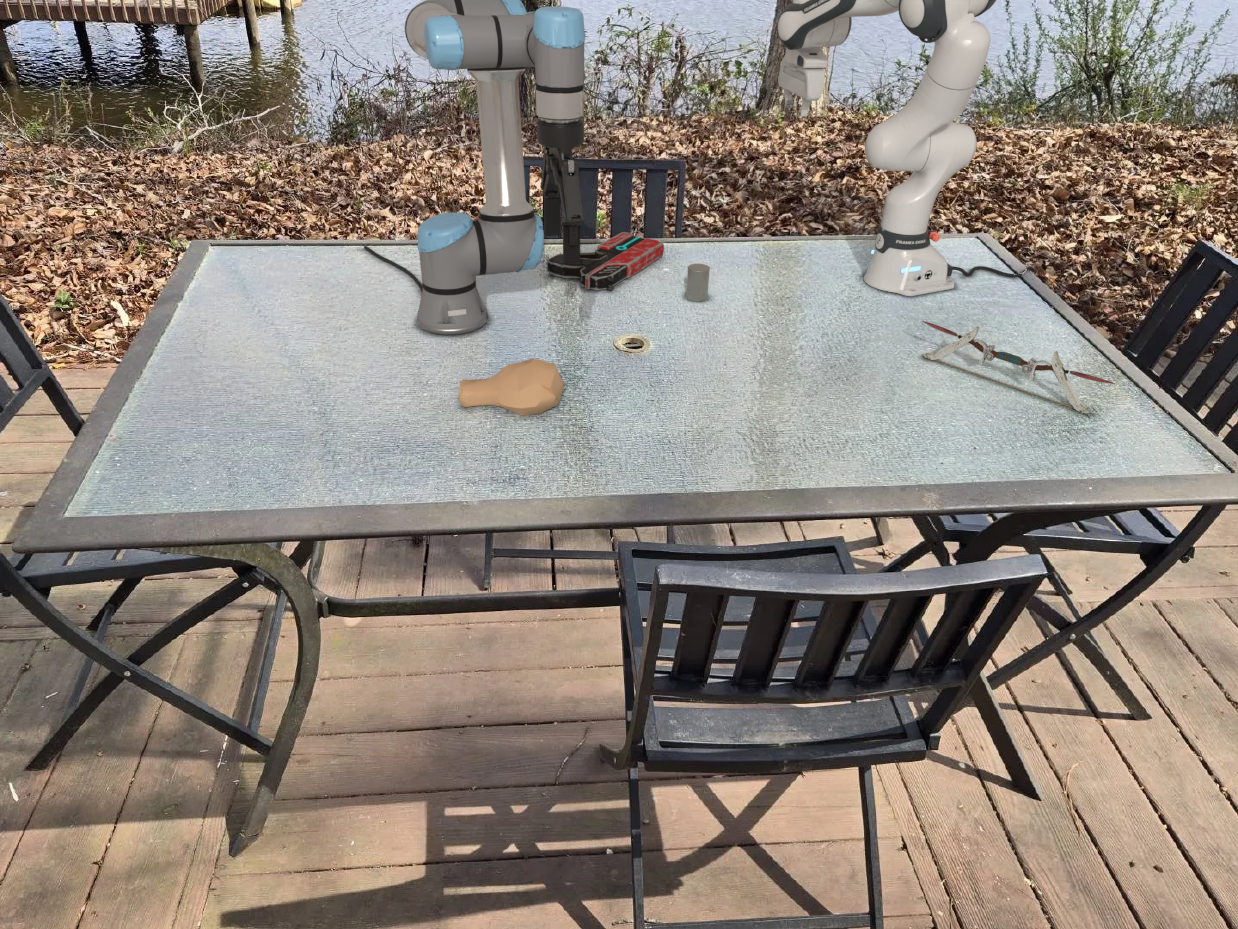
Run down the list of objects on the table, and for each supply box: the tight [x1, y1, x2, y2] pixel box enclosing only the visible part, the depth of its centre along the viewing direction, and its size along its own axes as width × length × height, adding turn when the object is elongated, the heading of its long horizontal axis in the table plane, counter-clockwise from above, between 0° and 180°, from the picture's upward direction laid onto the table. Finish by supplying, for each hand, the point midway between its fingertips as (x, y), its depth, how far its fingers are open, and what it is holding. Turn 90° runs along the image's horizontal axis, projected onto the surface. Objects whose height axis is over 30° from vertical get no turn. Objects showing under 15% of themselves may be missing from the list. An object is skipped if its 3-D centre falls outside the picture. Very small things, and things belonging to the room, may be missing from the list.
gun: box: [546, 231, 665, 292], centre depth 225 cm, size 4×31×19 cm
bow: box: [921, 320, 1114, 414], centre depth 176 cm, size 39×2×10 cm, turn 47°
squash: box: [457, 358, 565, 416], centre depth 164 cm, size 11×20×9 cm, turn 90°
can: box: [685, 263, 711, 303], centre depth 210 cm, size 5×5×8 cm
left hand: (561, 248), depth 150 cm, fingers open, 13 cm apart
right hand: (795, 111), depth 233 cm, fingers open, 8 cm apart
